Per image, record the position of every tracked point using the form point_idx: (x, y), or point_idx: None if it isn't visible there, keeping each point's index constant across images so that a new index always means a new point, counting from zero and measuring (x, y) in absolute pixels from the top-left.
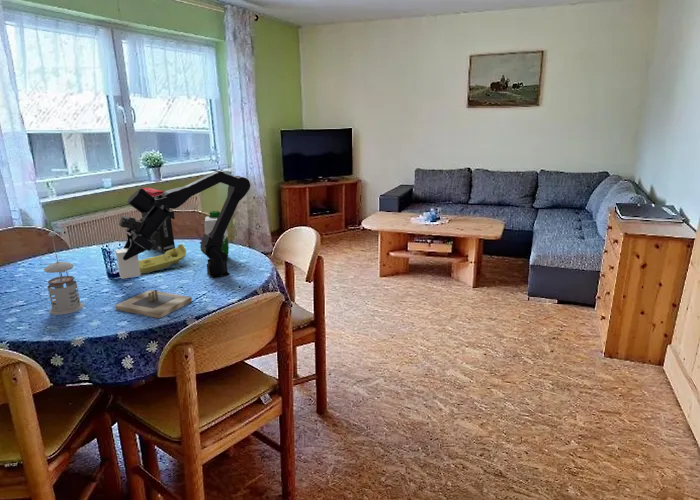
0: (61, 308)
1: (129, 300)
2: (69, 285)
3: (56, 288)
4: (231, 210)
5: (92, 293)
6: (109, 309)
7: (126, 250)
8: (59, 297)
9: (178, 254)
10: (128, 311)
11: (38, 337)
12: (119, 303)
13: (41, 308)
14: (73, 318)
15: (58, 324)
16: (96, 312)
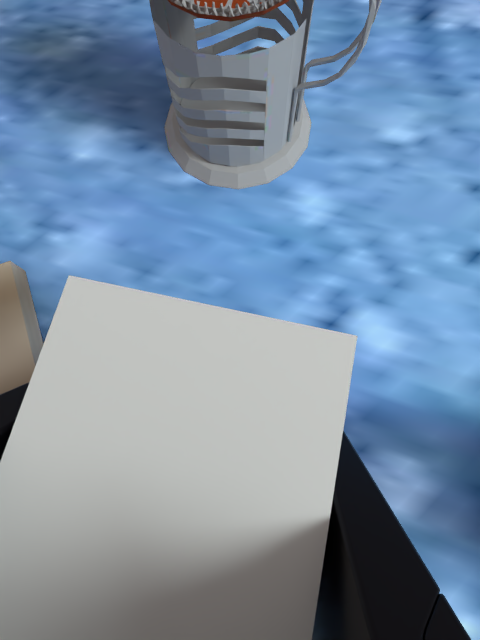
0: (187, 80)
1: (7, 340)
2: (292, 69)
3: (305, 19)
4: None
5: (371, 262)
6: (56, 250)
7: (125, 486)
8: (176, 23)
9: None
10: None
11: (14, 3)
12: (12, 284)
13: (323, 56)
14: (88, 116)
15: (75, 66)
16: (71, 198)
